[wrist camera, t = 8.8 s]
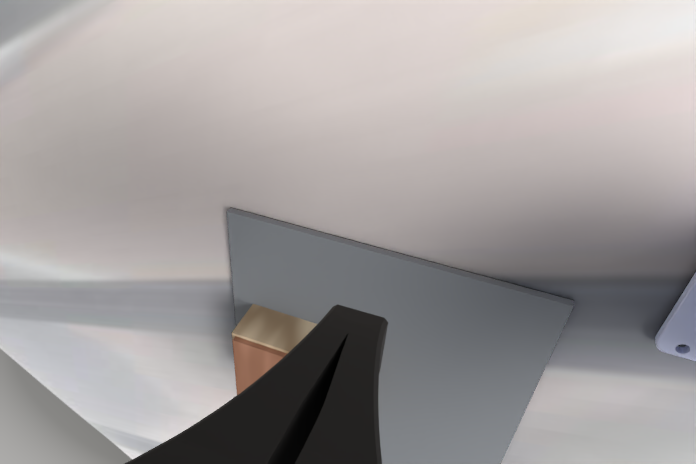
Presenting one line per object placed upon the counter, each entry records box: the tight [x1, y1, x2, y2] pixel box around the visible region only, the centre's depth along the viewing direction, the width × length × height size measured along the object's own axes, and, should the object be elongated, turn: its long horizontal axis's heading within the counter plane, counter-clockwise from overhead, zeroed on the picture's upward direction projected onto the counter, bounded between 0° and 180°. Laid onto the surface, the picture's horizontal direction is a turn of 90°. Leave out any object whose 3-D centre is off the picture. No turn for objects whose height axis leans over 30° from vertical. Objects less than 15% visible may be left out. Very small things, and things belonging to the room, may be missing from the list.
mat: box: [227, 208, 574, 464], centre depth 29 cm, size 17×18×1 cm
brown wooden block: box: [232, 304, 317, 395], centre depth 29 cm, size 3×6×7 cm
